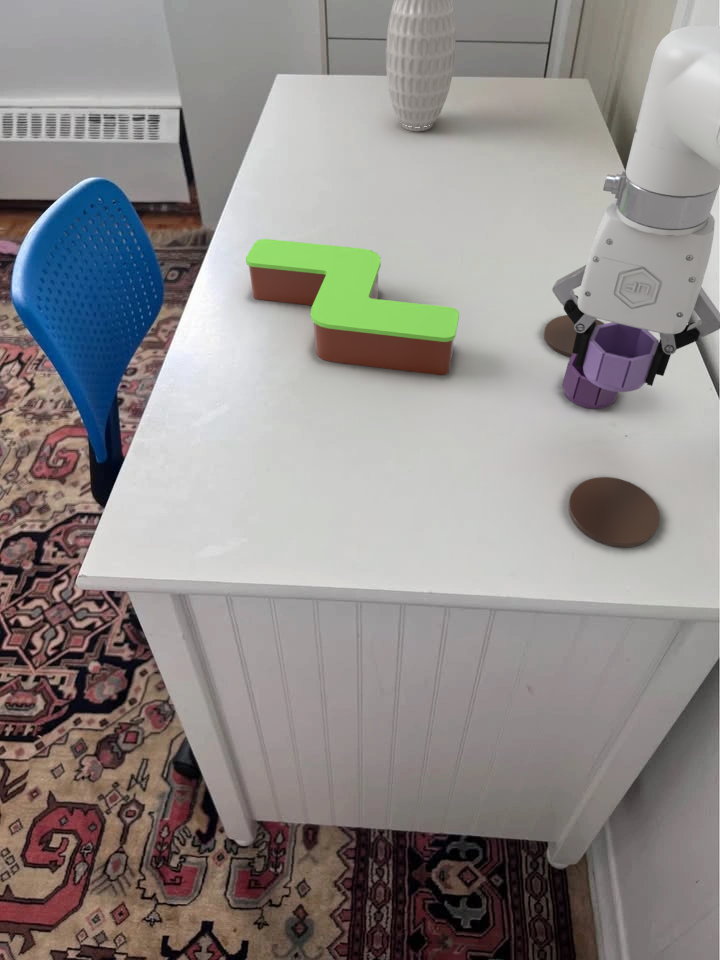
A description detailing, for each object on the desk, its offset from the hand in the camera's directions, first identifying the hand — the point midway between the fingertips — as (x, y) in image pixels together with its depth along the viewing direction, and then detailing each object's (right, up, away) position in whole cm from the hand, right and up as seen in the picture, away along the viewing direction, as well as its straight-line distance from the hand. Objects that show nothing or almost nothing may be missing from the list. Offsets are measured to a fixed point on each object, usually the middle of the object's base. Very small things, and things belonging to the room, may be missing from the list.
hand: (616, 367), depth 74 cm
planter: (-28, +10, +24) cm, 38 cm away
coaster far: (+2, +7, +21) cm, 22 cm away
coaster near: (0, -15, 0) cm, 15 cm away
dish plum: (+2, -1, +13) cm, 14 cm away
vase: (-15, +59, +68) cm, 91 cm away
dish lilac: (0, 0, 0) cm, 1 cm away
